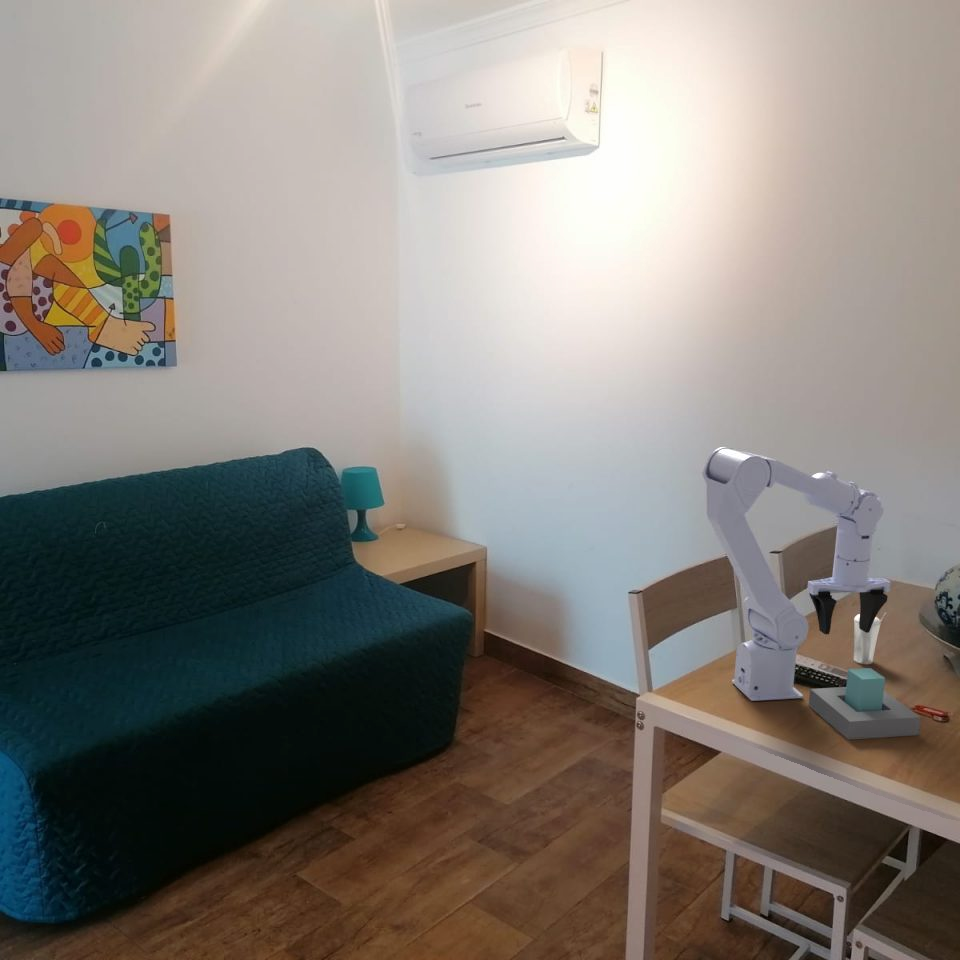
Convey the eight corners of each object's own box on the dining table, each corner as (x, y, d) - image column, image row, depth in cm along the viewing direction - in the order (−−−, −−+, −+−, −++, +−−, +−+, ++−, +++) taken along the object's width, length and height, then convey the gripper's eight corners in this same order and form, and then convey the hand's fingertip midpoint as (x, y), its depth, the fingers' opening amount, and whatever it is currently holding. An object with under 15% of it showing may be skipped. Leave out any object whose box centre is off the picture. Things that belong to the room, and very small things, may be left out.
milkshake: (883, 667, 172) (888, 616, 169) (852, 664, 173) (857, 613, 171) (877, 658, 176) (883, 608, 174) (848, 655, 177) (853, 605, 175)
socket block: (847, 739, 143) (849, 721, 143) (808, 705, 155) (810, 688, 154) (918, 734, 145) (920, 717, 145) (874, 701, 157) (876, 685, 156)
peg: (857, 726, 148) (862, 679, 146) (843, 715, 152) (847, 669, 150) (879, 724, 149) (885, 678, 147) (865, 713, 152) (870, 668, 151)
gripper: (825, 564, 155) (817, 641, 158) (904, 562, 158) (895, 638, 160) (804, 553, 162) (797, 626, 165) (880, 550, 164) (872, 623, 167)
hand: (844, 631), depth 163 cm, fingers open, 7 cm apart
